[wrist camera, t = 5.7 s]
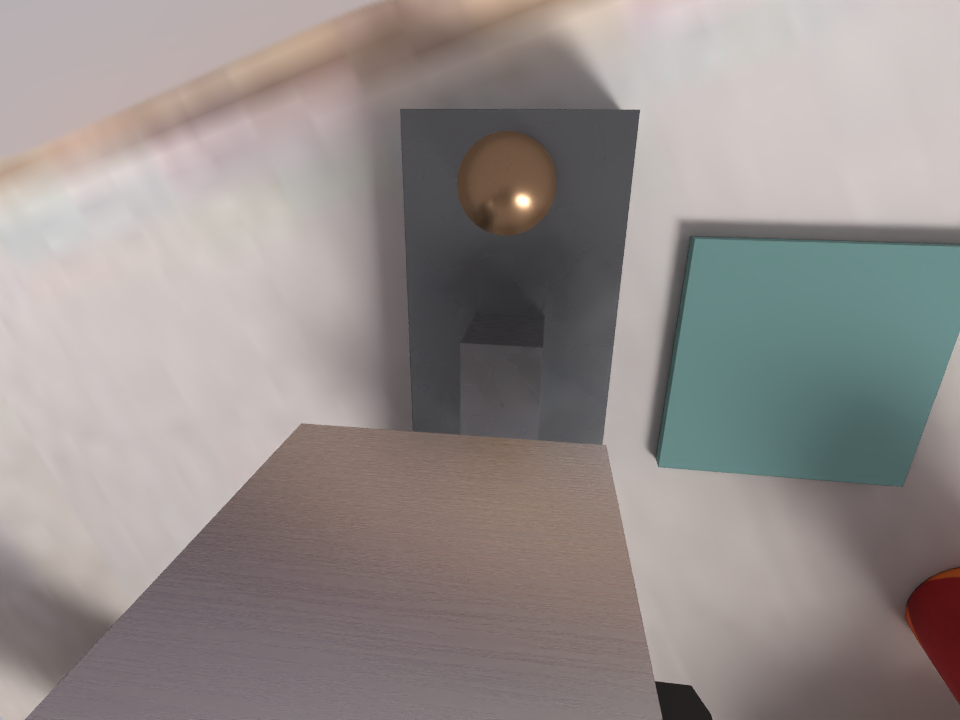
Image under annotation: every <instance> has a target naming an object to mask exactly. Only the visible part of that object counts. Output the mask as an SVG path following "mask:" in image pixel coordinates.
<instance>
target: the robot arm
mask: <svg viewBox="0 0 960 720" xmlns="http://www.w3.org/2000/svg"><path fill="white" fill-rule="evenodd" d="M655 685H656V690H657V695H658V700H659V705H660V709H661V714H662V719H663V720H712V717H711V714H710V712H709V711H708V709H707V708H706V707H705V705H704V704H703V702H702V701H701V699H700V698H699V696H698V695H697V693H696V692H695V690H694V689H693V687H692V686H690V685H682V684H673V683H665V682H656V681H655Z"/></svg>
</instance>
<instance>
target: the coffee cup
mask: <svg viewBox="0 0 960 720" xmlns="http://www.w3.org/2000/svg"><path fill="white" fill-rule="evenodd" d="M906 619H907V622H908V624H909V626H910V628H911V630H912V632H913V633H914V635H915V637H916V638H917V640H918V642H919V643H920V645H921V646H922V648H923V649H924V651H925V653H926V654H927V656H928V657H929V659H930V660H931V662H932V663H933V665H934V666H935V668H936V669H937V671H938V673H939V674H940V676H941V677H942V679H943V680H944V682H945V683H946V685H947V686H948V688H949V689H950V691H951V692H952V694H953V695H954V697H955V698H956V700H957V701H958V703H959V704H960V567H959V568H954V569H950V570H947V571H944V572H941V573H939V574H937V575H935V576H933V577H931V578H929V579H927V580H926V581H925V582H923V583H922V584H921V585H920V586H918V587H917V588H916V589H915V591H914V592H913V593H912V594H911V596H910V598H909V600H908V602H907V605H906Z"/></svg>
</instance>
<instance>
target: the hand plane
mask: <svg viewBox="0 0 960 720" xmlns="http://www.w3.org/2000/svg"><path fill="white" fill-rule="evenodd" d="M400 113H401V139H402V164H403V189H404V215H405V240H406V265H407V290H408V316H409V341H410V366H411V392H412V417H413V432H427V433H441V434H456V435H470V436H484V437H498V438H512V439H526V440H540V441H554V442H568V443H582V444H596V445H602V443H603V434H604V425H605V416H606V407H607V398H608V390H609V381H610V372H611V363H612V354H613V345H614V336H615V327H616V318H617V309H618V300H619V291H620V283H621V274H622V265H623V256H624V247H625V238H626V229H627V220H628V211H629V202H630V193H631V184H632V176H633V167H634V158H635V149H636V140H637V131H638V122H639V113H640V110H536V109H400Z"/></svg>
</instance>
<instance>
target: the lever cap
mask: <svg viewBox="0 0 960 720" xmlns="http://www.w3.org/2000/svg"><path fill="white" fill-rule="evenodd" d="M25 720H663V719H662V714H661V709H660V705H659V700H658V695H657V690H656V685H655V680H654V675H653V671H652V666H651V661H650V656H649V651H648V646H647V642H646V637H645V632H644V627H643V622H642V617H641V612H640V608H639V603H638V598H637V593H636V588H635V583H634V579H633V574H632V569H631V564H630V559H629V554H628V550H627V545H626V540H625V535H624V530H623V525H622V520H621V516H620V511H619V506H618V501H617V496H616V491H615V487H614V482H613V477H612V472H611V467H610V462H609V457H608V453H607V448H606V445H596V444H582V443H568V442H554V441H540V440H526V439H512V438H498V437H484V436H470V435H456V434H441V433H427V432H413V431H399V430H385V429H371V428H357V427H343V426H329V425H315V424H301V425H300V426H299V427H298V428H297V429H296V430H295V431H294V432H293V433H292V434H291V435H290V436H289V437H288V438H287V440H286V441H285V442H284V443H283V444H282V445H281V446H280V447H279V448H278V449H277V450H276V451H275V452H274V453H273V455H272V456H271V457H270V458H269V459H268V460H267V461H266V462H265V463H264V464H263V465H262V466H261V467H260V468H259V469H258V471H257V472H256V473H255V474H254V475H253V476H252V477H251V478H250V479H249V480H248V481H247V482H246V483H245V484H244V486H243V487H242V488H241V489H240V490H239V491H238V492H237V493H236V494H235V495H234V496H233V497H232V498H231V499H230V501H229V502H228V503H227V504H226V505H225V506H224V507H223V508H222V509H221V510H220V511H219V512H218V513H217V514H216V516H215V517H214V518H213V519H212V520H211V521H210V522H209V523H208V524H207V525H206V526H205V527H204V528H203V529H202V531H201V532H200V533H199V534H198V535H197V536H196V537H195V538H194V539H193V540H192V541H191V542H190V543H189V544H188V546H187V547H186V548H185V549H184V550H183V551H182V552H181V553H180V554H179V555H178V556H177V557H176V558H175V559H174V560H173V562H172V563H171V564H170V565H169V566H168V567H167V568H166V569H165V570H164V571H163V572H162V573H161V574H160V575H159V577H158V578H157V579H156V580H155V581H154V582H153V583H152V584H151V585H150V586H149V587H148V588H147V589H146V590H145V592H144V593H143V594H142V595H141V596H140V597H139V598H138V599H137V600H136V601H135V602H134V603H133V604H132V605H131V607H130V608H129V609H128V610H127V611H126V612H125V613H124V614H123V615H122V616H121V617H120V618H119V619H118V620H117V622H116V623H115V624H114V625H113V626H112V627H111V628H110V629H109V630H108V631H107V632H106V633H105V634H104V635H103V636H102V638H101V639H100V640H99V641H98V642H97V643H96V644H95V645H94V646H93V647H92V648H91V649H90V650H89V651H88V653H87V654H86V655H85V656H84V657H83V658H82V659H81V660H80V661H79V662H78V663H77V664H76V665H75V666H74V668H73V669H72V670H71V671H70V672H69V673H68V674H67V675H66V676H65V677H64V678H63V679H62V680H61V681H60V683H59V684H58V685H57V686H56V687H55V688H54V689H53V690H52V691H51V692H50V693H49V694H48V695H47V696H46V698H45V699H44V700H43V701H42V702H41V703H40V704H39V705H38V706H37V707H36V708H35V709H34V710H33V711H32V712H31V714H30V715H29V716H28V717H27V718H26V719H25Z"/></svg>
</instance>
